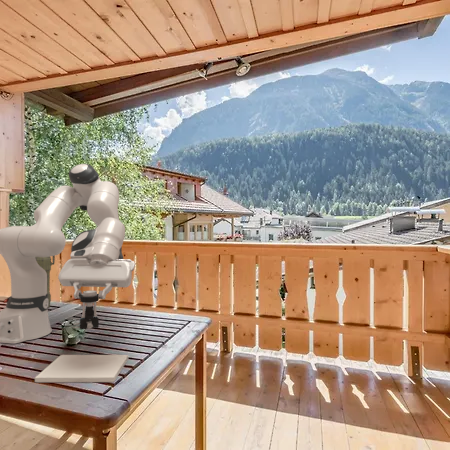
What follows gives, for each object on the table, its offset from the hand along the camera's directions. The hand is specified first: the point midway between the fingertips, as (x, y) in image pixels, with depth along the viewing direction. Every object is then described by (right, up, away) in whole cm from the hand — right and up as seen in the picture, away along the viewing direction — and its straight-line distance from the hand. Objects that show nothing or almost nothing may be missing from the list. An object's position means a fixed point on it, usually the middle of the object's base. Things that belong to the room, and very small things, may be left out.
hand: (89, 297), depth 90 cm
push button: (-1, -9, 0) cm, 9 cm away
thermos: (-49, -19, +62) cm, 81 cm away
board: (-1, -20, 0) cm, 20 cm away
